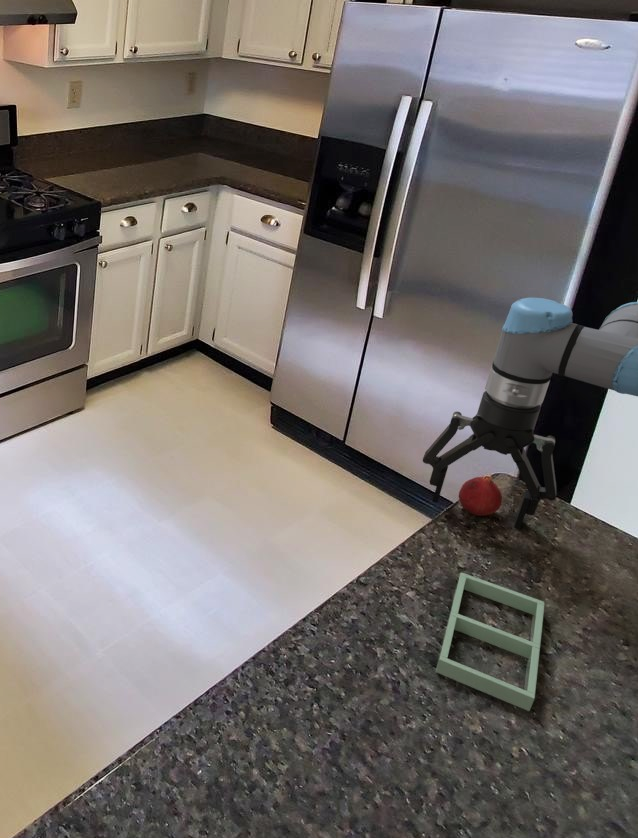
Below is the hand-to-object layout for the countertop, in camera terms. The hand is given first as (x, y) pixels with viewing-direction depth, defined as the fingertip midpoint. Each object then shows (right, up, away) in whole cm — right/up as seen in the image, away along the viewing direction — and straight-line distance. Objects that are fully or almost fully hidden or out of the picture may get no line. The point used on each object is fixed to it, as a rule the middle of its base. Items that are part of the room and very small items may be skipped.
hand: (474, 514), depth 130 cm
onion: (0, 0, 0) cm, 0 cm away
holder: (-14, -12, -25) cm, 31 cm away
